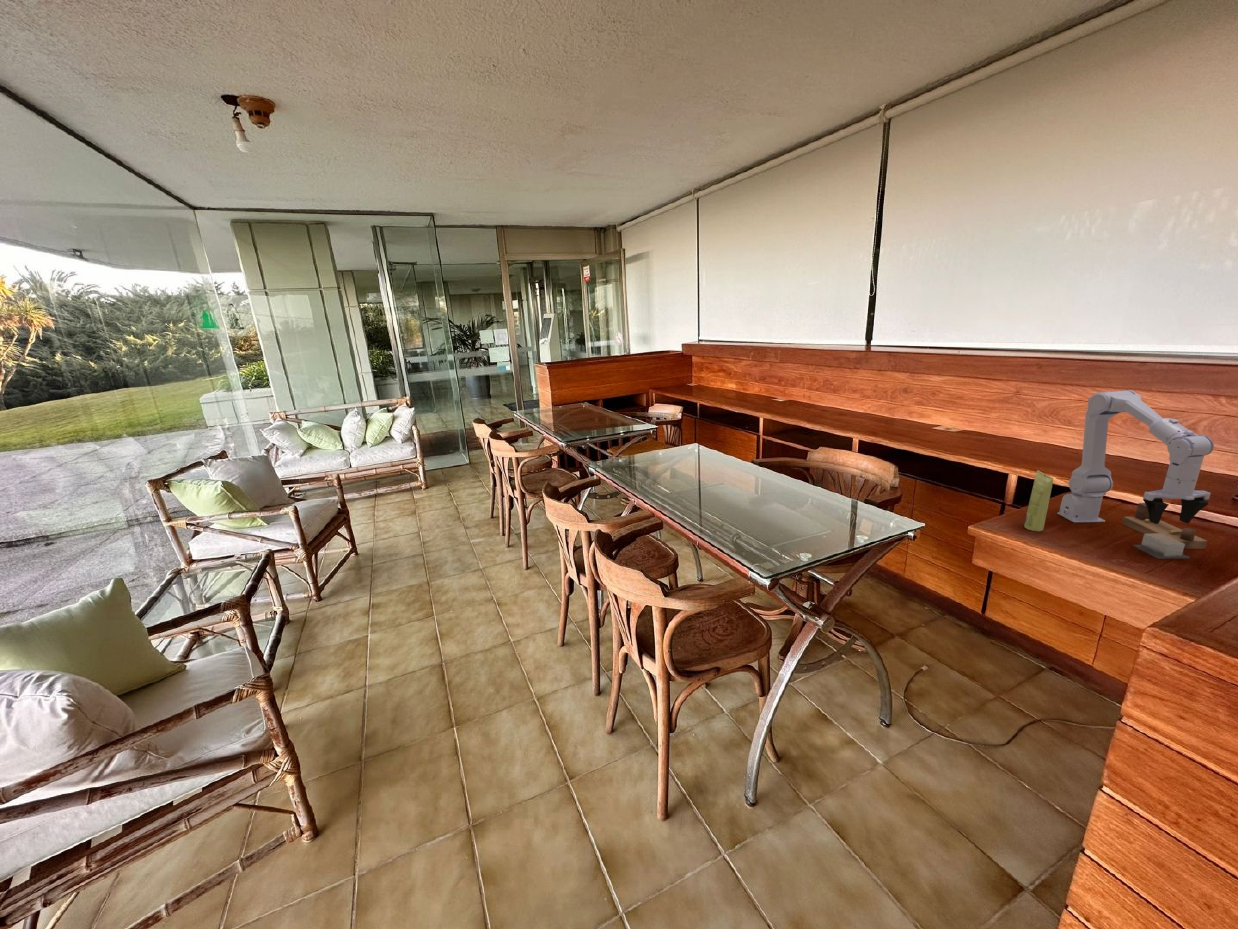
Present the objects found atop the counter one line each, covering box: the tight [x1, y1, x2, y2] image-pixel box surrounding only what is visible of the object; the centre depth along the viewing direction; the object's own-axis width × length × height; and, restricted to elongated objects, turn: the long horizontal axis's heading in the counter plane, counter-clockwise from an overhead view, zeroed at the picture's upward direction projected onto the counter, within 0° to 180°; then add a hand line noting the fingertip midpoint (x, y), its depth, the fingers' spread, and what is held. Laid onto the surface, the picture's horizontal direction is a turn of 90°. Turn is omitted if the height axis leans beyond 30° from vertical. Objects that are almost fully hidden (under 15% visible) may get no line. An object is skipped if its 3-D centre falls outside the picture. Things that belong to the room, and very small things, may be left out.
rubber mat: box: [1132, 544, 1191, 560], centre depth 141 cm, size 8×8×1 cm
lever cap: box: [1140, 533, 1185, 557], centre depth 141 cm, size 4×7×4 cm, turn 174°
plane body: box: [1121, 502, 1208, 550], centre depth 149 cm, size 8×18×8 cm, turn 172°
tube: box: [1024, 470, 1054, 532], centre depth 158 cm, size 6×5×20 cm
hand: (1168, 522), depth 139 cm, fingers open, 7 cm apart
